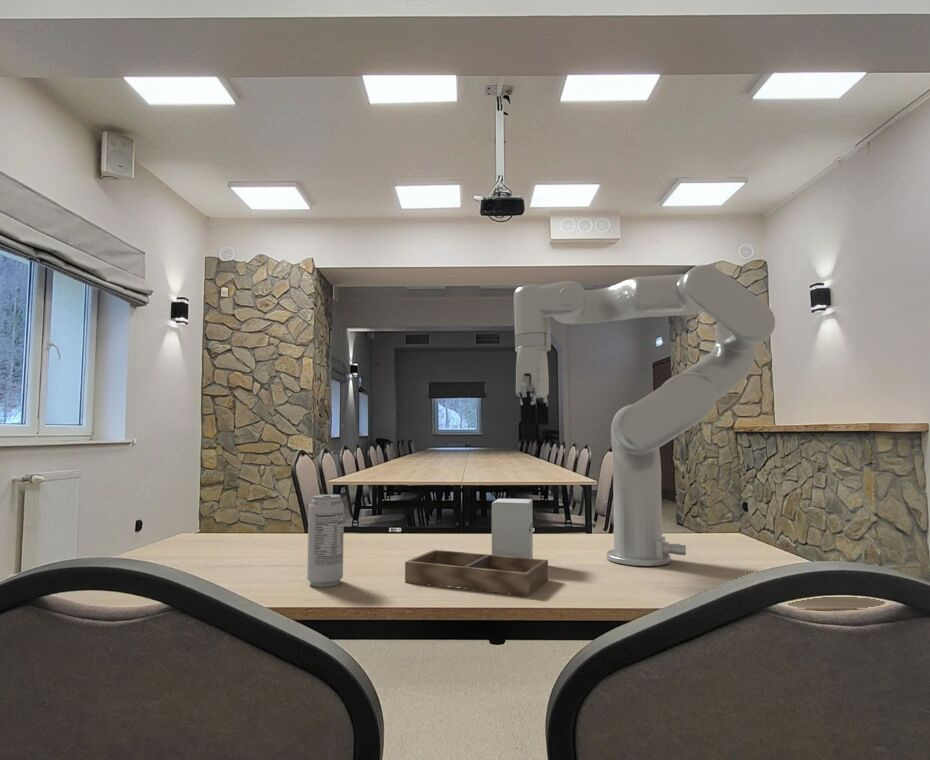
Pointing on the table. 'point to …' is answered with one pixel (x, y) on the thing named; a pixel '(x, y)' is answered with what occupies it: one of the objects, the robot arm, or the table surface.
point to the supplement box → (512, 528)
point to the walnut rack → (478, 571)
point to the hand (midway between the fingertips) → (535, 424)
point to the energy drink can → (325, 540)
